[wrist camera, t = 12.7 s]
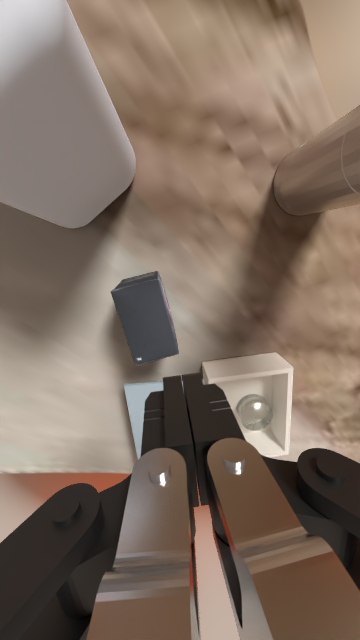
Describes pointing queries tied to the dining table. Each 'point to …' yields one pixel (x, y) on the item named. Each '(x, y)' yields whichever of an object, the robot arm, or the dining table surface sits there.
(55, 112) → the plastic bottle
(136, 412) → the lid
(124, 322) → the small box
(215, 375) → the open white box
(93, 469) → the dining table surface
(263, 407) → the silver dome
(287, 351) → the dining table surface
